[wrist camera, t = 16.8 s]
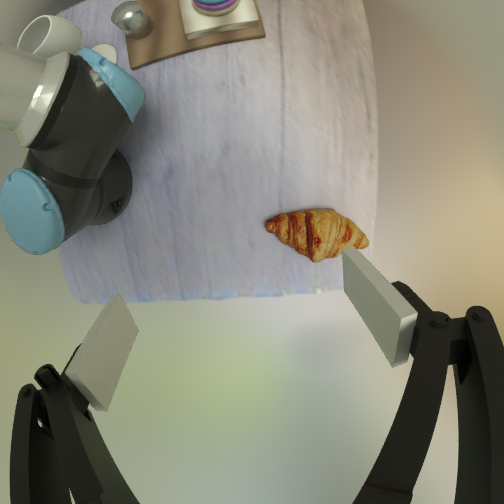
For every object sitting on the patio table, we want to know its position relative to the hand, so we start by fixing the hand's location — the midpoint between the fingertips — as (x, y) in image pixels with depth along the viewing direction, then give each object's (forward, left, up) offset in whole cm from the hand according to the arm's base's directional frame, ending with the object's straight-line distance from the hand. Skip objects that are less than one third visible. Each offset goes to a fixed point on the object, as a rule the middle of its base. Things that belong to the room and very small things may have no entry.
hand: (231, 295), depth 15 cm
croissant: (+14, -11, -35) cm, 39 cm away
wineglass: (-20, +32, -35) cm, 51 cm away
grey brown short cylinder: (-10, +35, -33) cm, 49 cm away
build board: (-1, +35, -35) cm, 49 cm away
